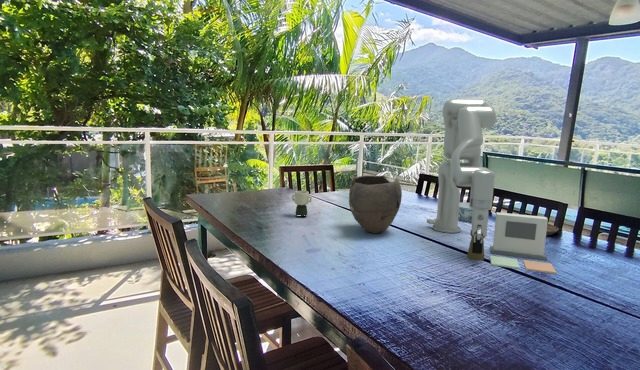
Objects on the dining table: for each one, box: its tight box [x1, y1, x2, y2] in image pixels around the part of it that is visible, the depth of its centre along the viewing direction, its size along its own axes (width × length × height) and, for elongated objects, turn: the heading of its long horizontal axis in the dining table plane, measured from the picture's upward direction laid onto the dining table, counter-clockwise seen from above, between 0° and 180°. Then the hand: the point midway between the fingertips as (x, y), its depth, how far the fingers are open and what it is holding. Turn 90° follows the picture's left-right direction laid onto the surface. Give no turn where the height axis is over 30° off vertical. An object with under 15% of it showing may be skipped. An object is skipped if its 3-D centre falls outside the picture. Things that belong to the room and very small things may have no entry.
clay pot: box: [348, 175, 403, 234], centre depth 171 cm, size 24×24×25 cm
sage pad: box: [489, 255, 521, 270], centre depth 138 cm, size 9×9×1 cm
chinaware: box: [459, 201, 473, 222], centre depth 199 cm, size 15×15×8 cm
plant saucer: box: [546, 222, 559, 237], centre depth 181 cm, size 21×21×3 cm
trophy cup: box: [291, 190, 313, 216], centre depth 197 cm, size 11×7×13 cm, turn 69°
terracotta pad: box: [522, 259, 557, 275], centre depth 134 cm, size 9×9×1 cm
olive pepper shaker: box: [466, 229, 486, 261], centre depth 142 cm, size 6×6×11 cm
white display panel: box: [489, 211, 549, 261], centre depth 146 cm, size 19×6×15 cm, turn 69°
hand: (476, 249), depth 142 cm, fingers open, 9 cm apart
